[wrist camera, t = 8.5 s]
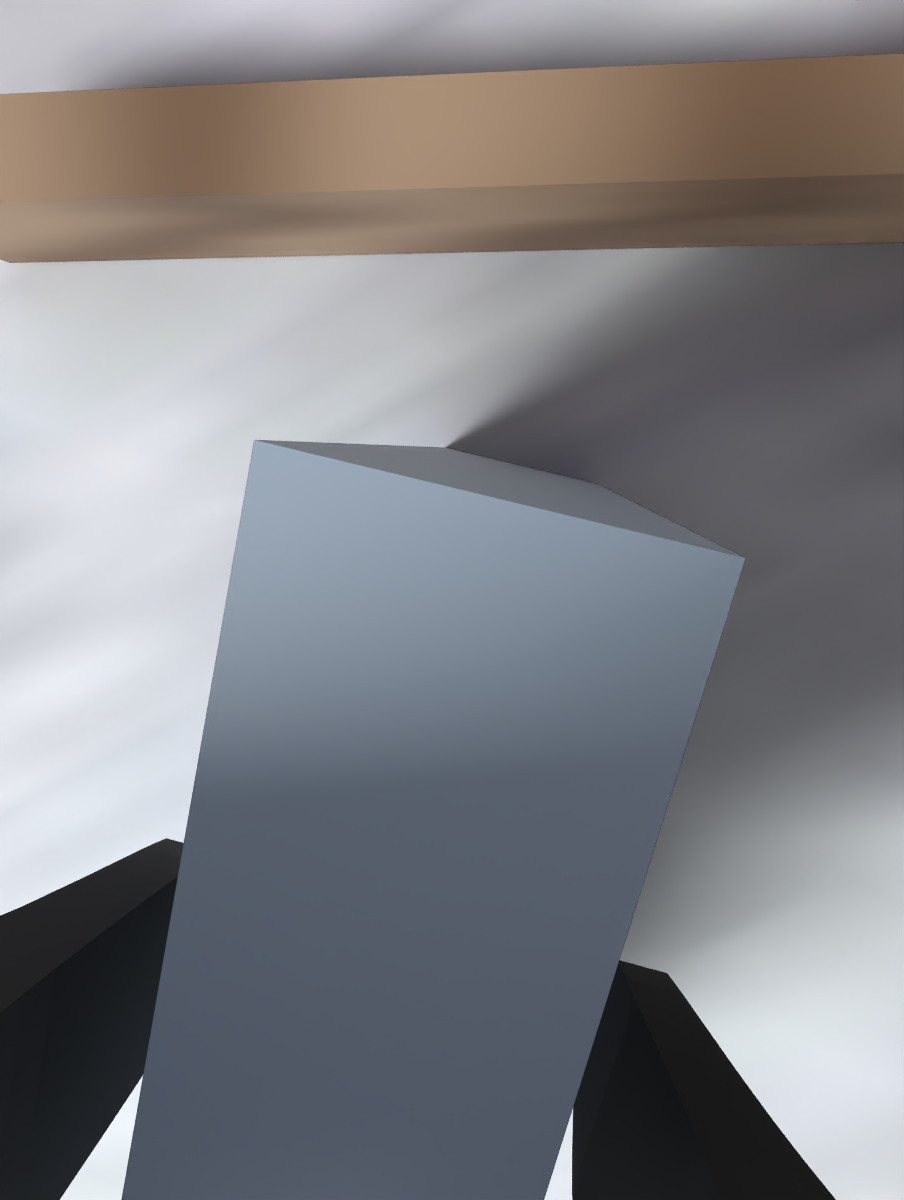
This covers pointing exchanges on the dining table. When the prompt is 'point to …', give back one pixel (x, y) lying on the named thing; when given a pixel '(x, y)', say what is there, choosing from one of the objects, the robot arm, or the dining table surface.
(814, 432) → the dining table surface
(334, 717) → the blue grey rectangular slab
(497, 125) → the rack
